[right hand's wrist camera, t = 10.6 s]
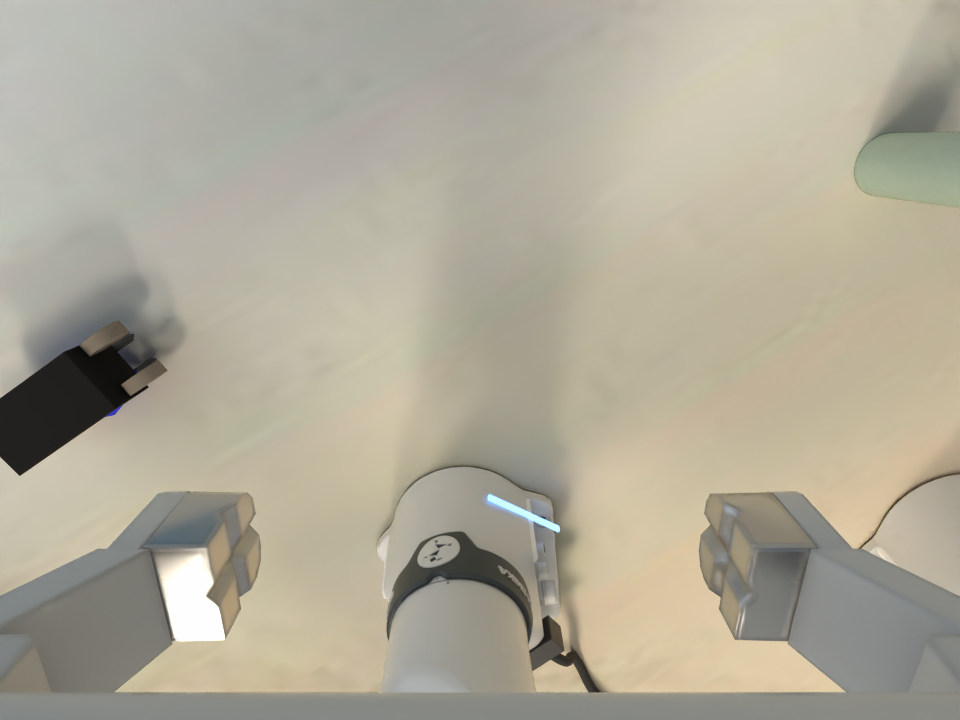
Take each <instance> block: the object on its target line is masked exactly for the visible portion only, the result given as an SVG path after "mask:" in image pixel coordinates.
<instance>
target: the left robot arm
mask: <svg viewBox="0 0 960 720" xmlns="http://www.w3.org/2000/svg"><path fill="white" fill-rule="evenodd" d="M861 549H863V550H866V551H868V552H870V553H872V554H874V555H876V556H878V557H880V558H882V559H884V560H886V561H888V562H890V563H892V564H894V565H896V566H899V567H901V568H903V569H905V570H907V571H909V572H911V573H913V574H915V575H917V576H919V577H921V578H923V579H925V580H927V581H929V582H932V583H934V584H936V585H938V586H940V587H942V588H944V589H946V590H948V591H950V592H952V593H954V594H956V595H958V596H960V474H958V475H951V476H946V477H942V478H939V479H936V480H933V481H931V482H928V483H926V484H924V485H922V486H920V487H918V488H916V489H915V490H913V491H912V492H910V493H909V494H907V495H906V496H905V497H903V498H902V499H901V500H900V501H899V502H898V503H897V504H896V505H895V506H894V507H893V508H892V509H891V510H890V511H889V513H888V514H887V515H886V517H885V518H884V520H883V522H882V523H881V525H880V527H879V529H878V531H877V533H876V534H875V536H874V537H873V538H872V539H871V540H870V541H869V542H868V543H867V544H865V545H864V546H863V547H862V548H861Z"/></svg>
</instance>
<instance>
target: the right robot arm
mask: <svg viewBox="0 0 960 720" xmlns="http://www.w3.org/2000/svg"><path fill="white" fill-rule="evenodd" d="M255 514H256V513H255V508H254V503H253V498H252V497H251V496H250V495H249V494H248V493H232V492H189V491H184V492H162V493H159V494H157V495H156V496H155V497H154V498H153V500H152V501H151V502H150V503H149V504H148V505H147V506H146V507H145V508H144V509H143V510H142V512H141V513H140V514H139V515H138V516H137V517H136V518H135V519H134V520H133V521H132V522H131V524H130V525H129V526H128V527H127V528H126V529H125V530H124V531H123V532H122V533H121V534H120V535H119V537H118V538H117V539H116V540H115V541H114V542H113V543H112V544H111V545H110V546H109V547H108V549H97V550H94V551H92V552H90V553H88V554H86V555H84V556H82V557H80V558H78V559H76V560H74V561H72V562H70V563H68V564H66V565H63V566H61V567H59V568H57V569H55V570H53V571H51V572H49V573H47V574H45V575H43V576H41V577H39V578H37V579H35V580H32V581H30V582H28V583H26V584H24V585H22V586H20V587H18V588H16V589H14V590H12V591H10V592H8V593H6V594H3V595H1V596H0V720H960V596H958V595H956V594H954V593H952V592H950V591H948V590H946V589H944V588H942V587H940V586H938V585H936V584H934V583H932V582H929V581H927V580H925V579H923V578H921V577H919V576H917V575H915V574H913V573H911V572H909V571H907V570H905V569H903V568H901V567H899V566H896V565H894V564H892V563H890V562H888V561H886V560H884V559H882V558H880V557H878V556H876V555H874V554H872V553H870V552H868V551H866V550H863V549H852V547H851V546H850V545H849V544H848V543H847V542H846V541H845V540H844V539H843V538H842V537H841V535H840V534H839V533H838V532H837V531H836V530H835V529H834V528H833V527H832V526H831V525H830V523H829V522H828V521H827V520H826V519H825V518H824V517H823V516H822V515H821V514H820V513H819V511H818V510H817V509H816V508H815V507H814V506H813V505H812V504H811V503H810V502H809V501H808V500H807V498H806V497H805V496H804V495H803V494H801V493H799V492H796V491H786V492H767V493H720V494H710V495H709V497H708V499H707V501H706V507H705V513H704V514H705V516H706V517H707V519H708V521H709V522H710V524H711V525H710V526H709V527H708V528H707V529H706V530H705V531H704V532H703V533H702V534H701V538H700V546H699V557H700V567H701V570H702V574H703V577H704V580H705V582H706V584H707V586H708V588H709V589H710V590H711V591H713V592H714V593H715V594H717V595H718V596H720V597H721V600H720V606H719V610H720V612H721V613H722V615H723V617H724V619H725V621H726V623H727V625H728V627H729V629H730V631H731V633H732V635H733V637H734V638H735V640H760V641H788V644H789V645H790V646H791V647H792V648H794V649H795V650H796V651H797V652H798V653H800V654H801V655H802V656H803V657H804V658H806V659H807V660H808V661H809V662H810V663H812V664H813V665H814V666H815V667H817V668H818V669H819V670H820V671H821V672H823V673H824V674H825V675H826V676H827V677H829V678H830V679H831V680H832V681H834V682H835V683H836V684H837V685H838V686H840V687H841V688H842V689H843V690H844V691H846V692H792V693H599V692H598V690H597V689H596V687H595V686H594V684H593V682H592V680H591V678H590V676H589V674H588V672H587V670H586V668H585V666H584V664H583V662H582V660H581V659H580V658H579V656H578V655H577V654H576V653H574V652H569V653H567V655H566V656H564V655H562V654H560V653H562V652H563V651H564V646H563V640H562V634H561V628H560V626H559V625H558V624H557V623H556V622H555V621H554V619H555V618H556V617H557V616H558V615H559V613H560V596H559V583H558V570H557V558H556V545H555V532H554V531H556V532H559V531H560V528H559V526H558V525H556V524H554V519H553V507H552V502H551V500H550V499H549V498H547V497H546V496H543V495H540V494H537V493H533V492H529V491H524V490H522V489H520V488H519V487H517V486H516V485H514V484H513V483H511V482H510V481H509V480H507V479H506V478H504V477H502V476H500V475H498V474H496V473H494V472H491V471H488V470H484V469H480V468H474V467H452V468H446V469H442V470H439V471H436V472H433V473H431V474H428V475H426V476H425V477H423V478H421V479H420V480H418V481H417V482H415V483H414V484H413V485H412V486H411V487H410V488H409V489H408V490H407V491H406V492H405V494H404V495H403V496H402V498H401V500H400V501H399V504H398V506H397V509H396V512H395V515H394V519H393V522H392V524H391V526H390V527H389V528H388V529H387V530H386V531H385V532H384V534H383V535H382V536H381V537H380V539H379V540H378V543H377V554H378V556H379V557H380V558H381V560H382V561H383V563H384V564H385V565H384V574H383V584H382V595H383V598H385V599H387V601H388V602H389V604H388V610H387V637H388V640H389V642H388V648H387V653H386V659H385V664H384V670H383V675H382V680H381V686H380V691H379V692H280V693H120V692H115V691H116V690H117V689H118V688H119V687H121V686H122V685H123V684H124V683H125V682H127V681H128V680H129V679H130V678H132V677H133V676H134V675H135V674H136V673H138V672H139V671H140V670H141V669H142V668H144V667H145V666H146V665H147V664H149V663H150V662H151V661H152V660H153V659H155V658H156V657H157V656H158V655H159V654H161V653H162V652H163V651H164V650H166V649H167V648H168V647H169V646H170V645H172V641H199V640H225V639H226V637H227V635H228V633H229V631H230V629H231V627H232V625H233V623H234V621H235V619H236V617H237V615H238V613H239V612H240V610H241V606H240V600H239V597H240V596H242V595H243V594H245V593H246V592H247V591H249V590H250V589H251V588H252V586H253V584H254V582H255V580H256V577H257V574H258V570H259V565H260V561H261V544H260V537H259V534H258V533H257V532H256V531H255V530H254V529H253V528H252V527H251V526H250V525H249V524H250V523H251V521H252V519H253V517H254V516H255ZM540 516H543V517H544V518H540ZM549 660H552V661H554V662H556V663H557V664H560V665H562V666H566V667H568V666H570V665H571V664H572V663H573V664H574V665H575V667H576V669H577V671H578V673H579V675H580V677H581V679H582V681H583V683H584V685H585V687H586V689H587V690H588V692H589V693H537V692H536V688H535V683H534V678H533V672H532V671H533V670H535V669H537V668H538V667H540V666H541V665H543V664H544V663H546V662H548V661H549Z"/></svg>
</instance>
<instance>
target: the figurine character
mask: <svg viewBox="0 0 960 720" xmlns="http://www.w3.org/2000/svg"><path fill="white" fill-rule="evenodd" d="M128 333H129V331H128V330H127V329H126V328H125V327H124V326H123V324H122V323H121V322H120V321H116V322H114V323H111V324H110V325H108V326H106V327H104V328H102V329H101V330H99V331H98V332H96V333H94V334H93V335H91V336H90V337H89V338H87V339H86V340H85V341H83V342H82V343H81V344H80V345H79V346H77V347H75V348H72V349H70V350H68V351H65V352H63V353H62V354H61V355H59V356H58V357H57V358H55V359H54V360H52V361H51V362H50V363H48V364H47V365H46V366H44V367H43V368H41V369H40V370H39V371H37V372H36V373H35V374H33V375H32V376H30V377H29V378H28V379H26V380H25V381H24V382H22V383H21V384H19V385H18V386H17V387H15V388H14V389H13V390H11V391H10V392H8V393H7V394H6V395H4V396H3V397H2V398H0V457H1V458H2V459H3V460H4V461H5V462H6V463H7V464H8V465H9V466H10V467H11V468H12V469H13V470H14V471H15V472H16V473H17V474H18V475H19V476H20V475H22V474H23V473H25V472H26V471H28V470H29V469H31V468H32V467H33V466H35V465H36V464H38V463H39V462H41V461H42V460H44V459H45V458H46V457H48V456H49V455H51V454H52V453H54V452H55V451H56V450H58V449H59V448H61V447H62V446H64V445H65V444H67V443H68V442H69V441H71V440H72V439H74V438H75V437H77V436H78V435H79V434H81V433H82V432H84V431H85V430H87V429H88V428H89V427H91V426H92V425H94V424H95V423H97V422H98V421H100V420H101V419H102V418H104V417H107V416H112V415H115V414H116V413H117V411H118V410H119V409H120V408H121V406H122V405H123V404H124V403H126V402H127V401H129V400H130V399H132V398H133V397H135V396H136V395H138V394H139V393H141V392H143V391H144V390H145V389H147V388H148V386H147V385H148V384H149V383H151V382H152V381H154V380H155V379H156V378H158V377H159V376H161V375H162V374H164V373H165V372H166V371H167V370H166V368H165V367H164V366H163V365H162V364H161V363H160V362H159V360H157V361H156V359H157V358H149V359H148V360H147V361H145V362H144V363H142V364H141V365H140V366H138V367H137V368H136V369H134V370H133V369H132V368H131V367H130V366H129V365H128V363H127V362H126V361H125V360H124V359H123V358H122V357H121V356H120V354H119V353H118V351H119V350H121V349H122V348H123V347H125V346H126V345H127V344H129V343H130V342H132V341H133V339H134V334H128Z"/></svg>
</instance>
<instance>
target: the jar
mask: <svg viewBox="0 0 960 720" xmlns="http://www.w3.org/2000/svg"><path fill="white" fill-rule="evenodd" d="M854 174H855V180H856V183H857V185H858V186H859V188H860V189H861V190H862V191H863V192H865V193H866V194H868V195H871V196H877V197H884V198H891V199H898V200H906V201H913V202H920V203H927V204H934V205H941V206H948V207H955V208H960V132H917V133H887V134H883V135H880V136H878V137H876V138H875V139H873V140H872V141H870V142H869V143H868V144H867V145H866V146H865V147H864V148H863V149H862V151H861V152H860V154H859V156H858V158H857V161H856V164H855V170H854Z"/></svg>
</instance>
